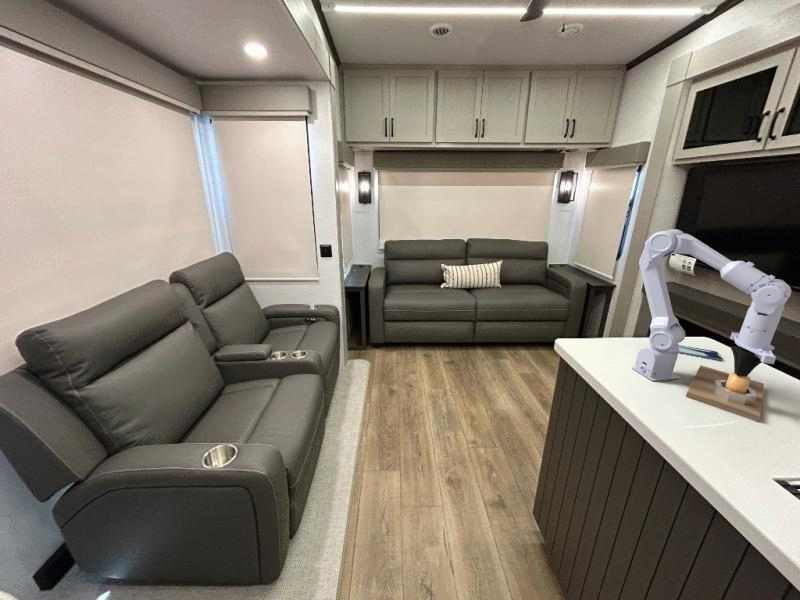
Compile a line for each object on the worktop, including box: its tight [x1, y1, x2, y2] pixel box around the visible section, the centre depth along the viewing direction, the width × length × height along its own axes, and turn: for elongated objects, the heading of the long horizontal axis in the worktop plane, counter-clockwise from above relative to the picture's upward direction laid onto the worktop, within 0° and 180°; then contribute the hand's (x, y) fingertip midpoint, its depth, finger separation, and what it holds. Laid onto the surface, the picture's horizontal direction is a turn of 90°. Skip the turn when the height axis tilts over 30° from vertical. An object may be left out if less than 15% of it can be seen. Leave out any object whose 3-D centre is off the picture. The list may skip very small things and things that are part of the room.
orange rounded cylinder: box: [725, 372, 752, 394], centre depth 88 cm, size 4×4×6 cm
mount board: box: [685, 364, 765, 423], centre depth 93 cm, size 22×14×2 cm, turn 132°
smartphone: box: [678, 344, 724, 362], centre depth 117 cm, size 7×1×15 cm
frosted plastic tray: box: [713, 380, 757, 405], centre depth 89 cm, size 8×8×2 cm
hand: (740, 374), depth 87 cm, fingers closed
